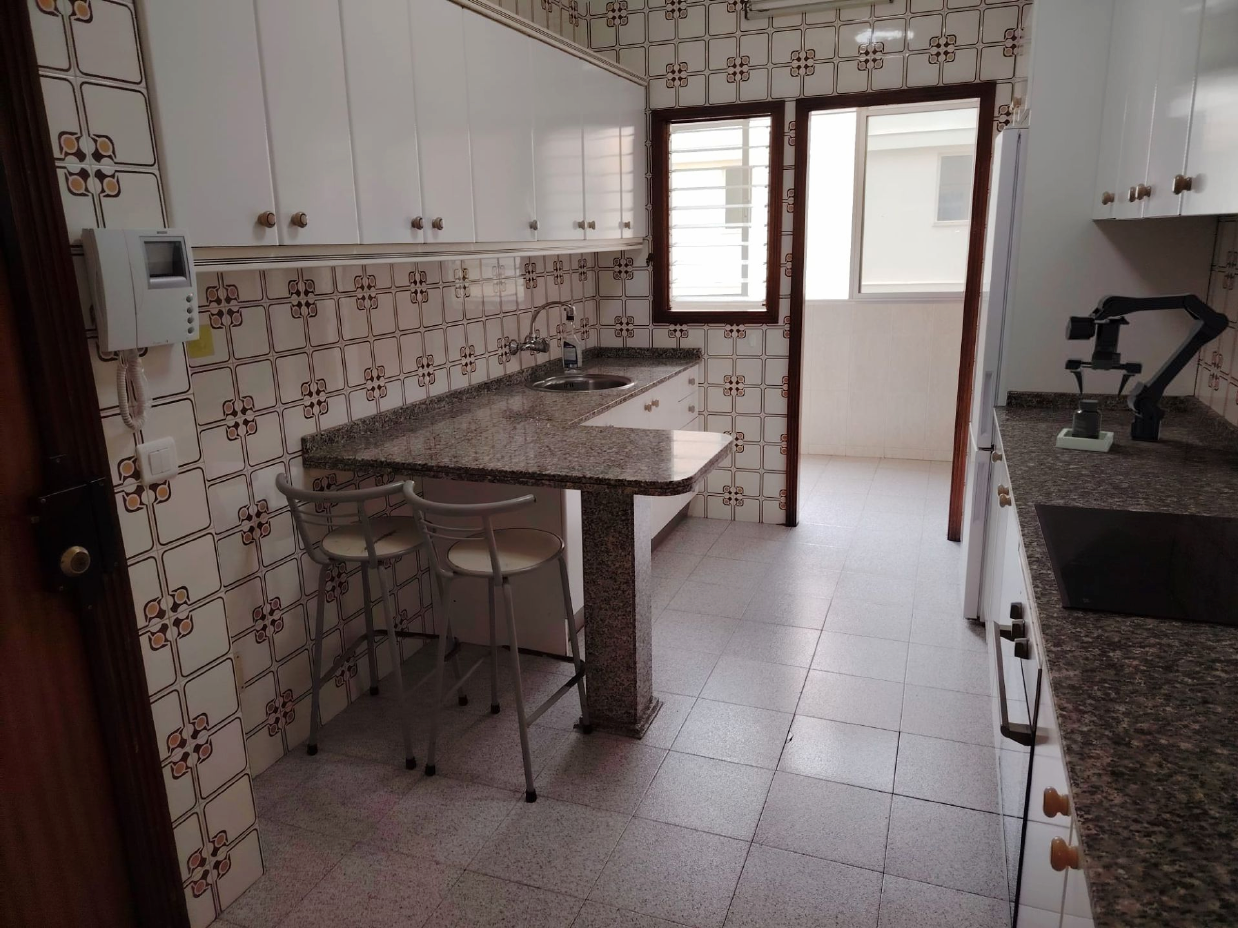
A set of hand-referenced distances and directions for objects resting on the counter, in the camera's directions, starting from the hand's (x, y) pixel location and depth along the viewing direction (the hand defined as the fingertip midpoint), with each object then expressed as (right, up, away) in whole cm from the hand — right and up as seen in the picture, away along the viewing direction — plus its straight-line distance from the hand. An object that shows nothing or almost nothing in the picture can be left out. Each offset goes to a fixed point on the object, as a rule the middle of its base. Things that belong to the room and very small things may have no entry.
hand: (1099, 396), depth 241 cm
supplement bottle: (-7, -14, -5) cm, 16 cm away
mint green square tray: (-7, -14, -5) cm, 16 cm away
